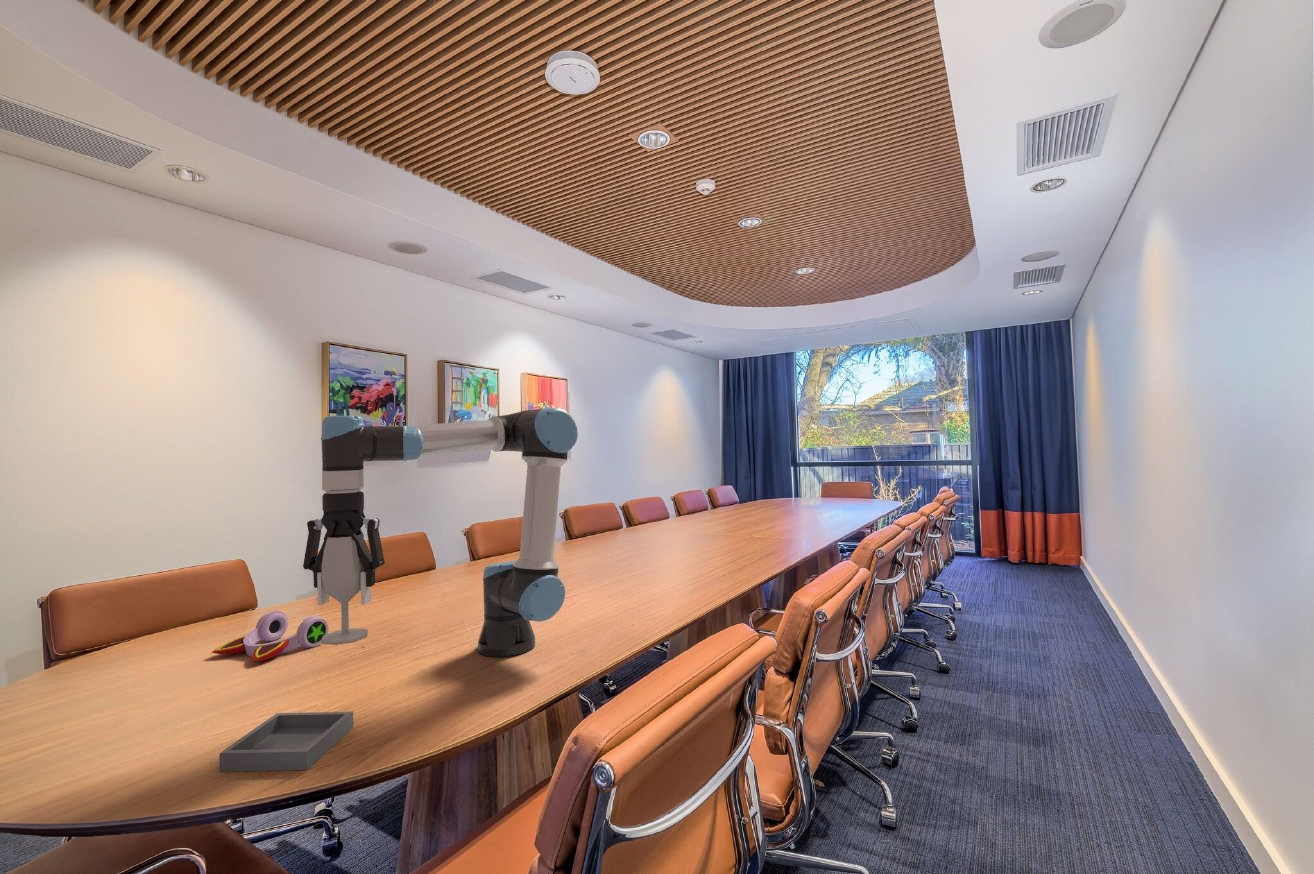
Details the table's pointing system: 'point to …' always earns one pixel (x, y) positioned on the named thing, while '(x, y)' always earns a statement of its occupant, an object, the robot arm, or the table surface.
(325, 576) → the wineglass
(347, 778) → the table surface
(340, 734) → the tray
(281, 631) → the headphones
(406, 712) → the table surface
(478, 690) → the table surface
